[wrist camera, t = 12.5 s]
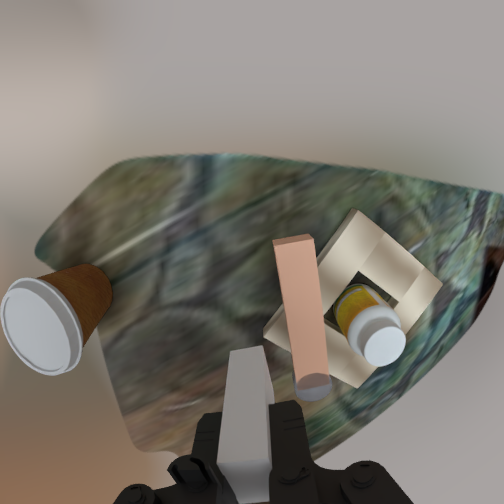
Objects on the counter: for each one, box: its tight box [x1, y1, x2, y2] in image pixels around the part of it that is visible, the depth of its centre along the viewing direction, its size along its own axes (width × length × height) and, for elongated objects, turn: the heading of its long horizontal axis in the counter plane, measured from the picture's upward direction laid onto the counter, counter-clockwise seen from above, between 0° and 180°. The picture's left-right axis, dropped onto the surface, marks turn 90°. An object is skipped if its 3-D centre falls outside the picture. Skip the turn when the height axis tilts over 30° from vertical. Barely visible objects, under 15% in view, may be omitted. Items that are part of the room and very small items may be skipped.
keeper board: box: [263, 208, 443, 389], centre depth 28 cm, size 16×14×10 cm
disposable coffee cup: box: [1, 264, 113, 375], centre depth 27 cm, size 10×10×12 cm
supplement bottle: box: [333, 284, 406, 366], centre depth 28 cm, size 5×5×10 cm
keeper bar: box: [272, 234, 332, 402], centre depth 21 cm, size 12×3×2 cm, turn 11°
